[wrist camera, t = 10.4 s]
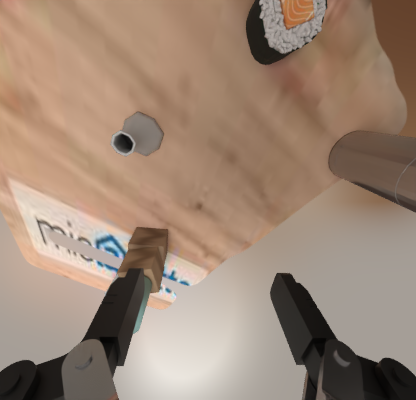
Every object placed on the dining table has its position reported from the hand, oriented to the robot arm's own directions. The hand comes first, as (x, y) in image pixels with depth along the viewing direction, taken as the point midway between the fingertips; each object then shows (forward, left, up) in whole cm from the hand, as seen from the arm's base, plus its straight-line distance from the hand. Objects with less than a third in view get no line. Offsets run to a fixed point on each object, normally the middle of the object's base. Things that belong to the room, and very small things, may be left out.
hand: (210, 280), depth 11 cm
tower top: (+10, +20, -22) cm, 31 cm away
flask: (+11, -4, -28) cm, 31 cm away
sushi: (-9, -21, -28) cm, 36 cm away
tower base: (+10, +20, -28) cm, 36 cm away
